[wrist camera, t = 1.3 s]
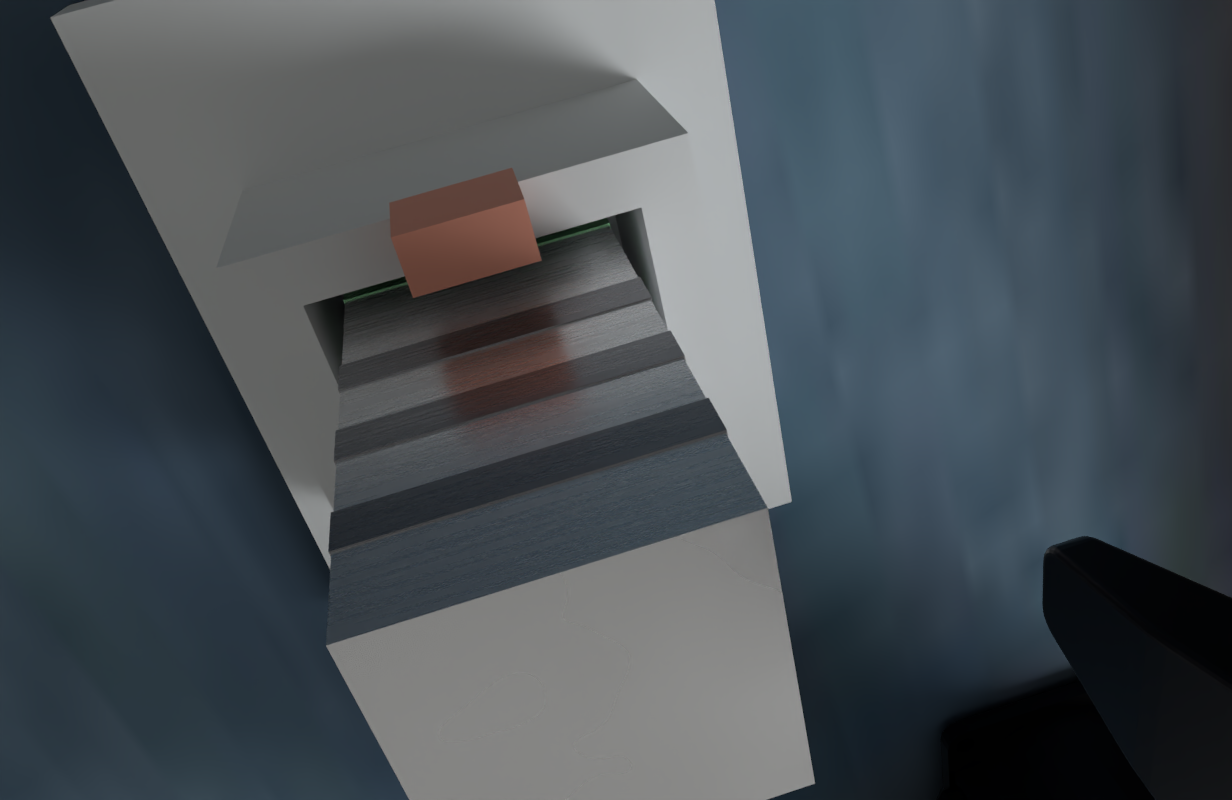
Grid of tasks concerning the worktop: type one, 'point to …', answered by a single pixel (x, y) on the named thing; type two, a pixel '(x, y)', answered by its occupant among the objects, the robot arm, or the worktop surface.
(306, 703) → the worktop surface
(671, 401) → the column
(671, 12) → the stand base
